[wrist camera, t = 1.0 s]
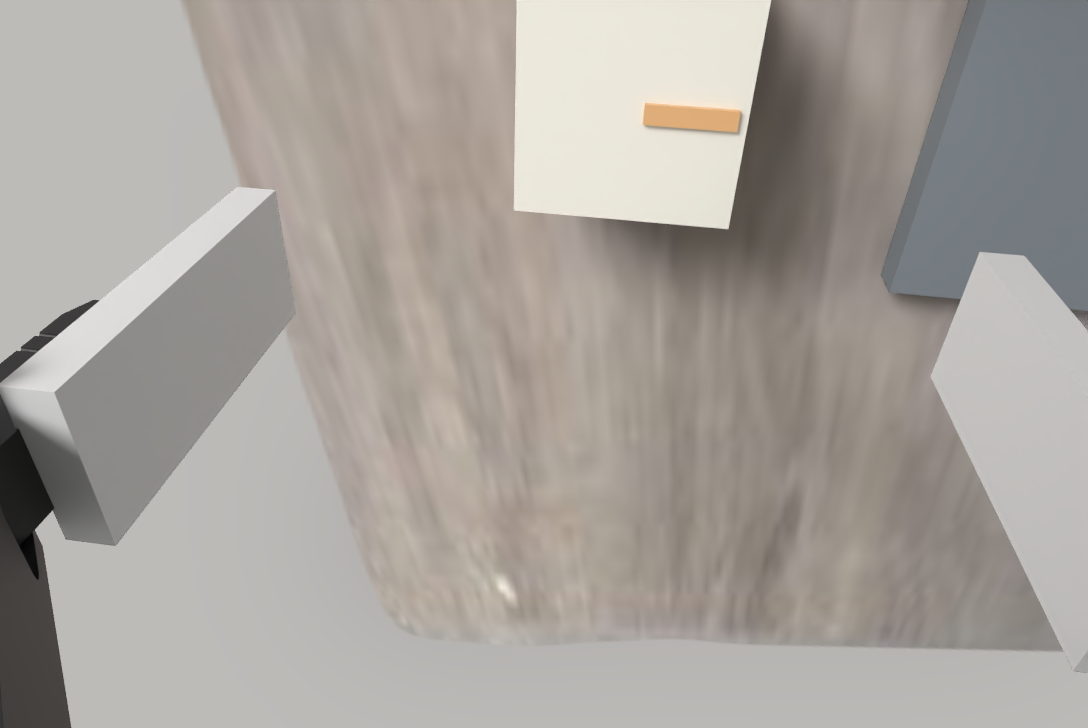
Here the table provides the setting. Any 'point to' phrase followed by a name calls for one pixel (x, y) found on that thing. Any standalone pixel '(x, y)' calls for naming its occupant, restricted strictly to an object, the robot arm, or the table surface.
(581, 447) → the table surface
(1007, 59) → the shaft plate
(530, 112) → the cream cube
